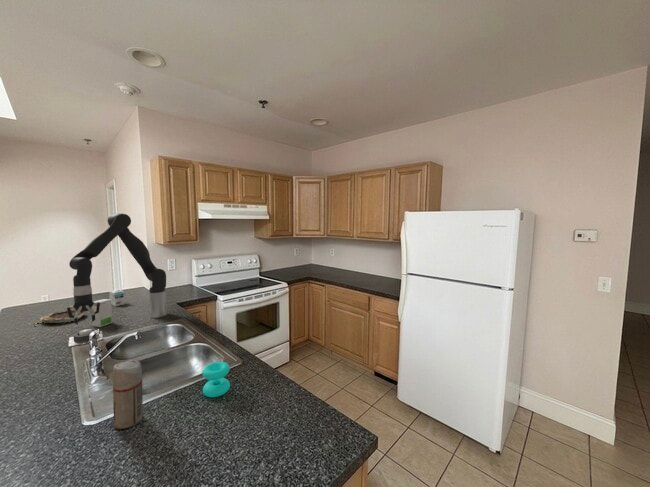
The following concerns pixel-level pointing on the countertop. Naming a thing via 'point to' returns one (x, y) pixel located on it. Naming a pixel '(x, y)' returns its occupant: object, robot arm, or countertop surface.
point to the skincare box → (102, 313)
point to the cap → (85, 332)
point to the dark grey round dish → (81, 339)
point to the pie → (60, 317)
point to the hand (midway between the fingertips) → (85, 322)
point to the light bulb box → (117, 297)
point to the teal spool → (216, 379)
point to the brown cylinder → (127, 394)
